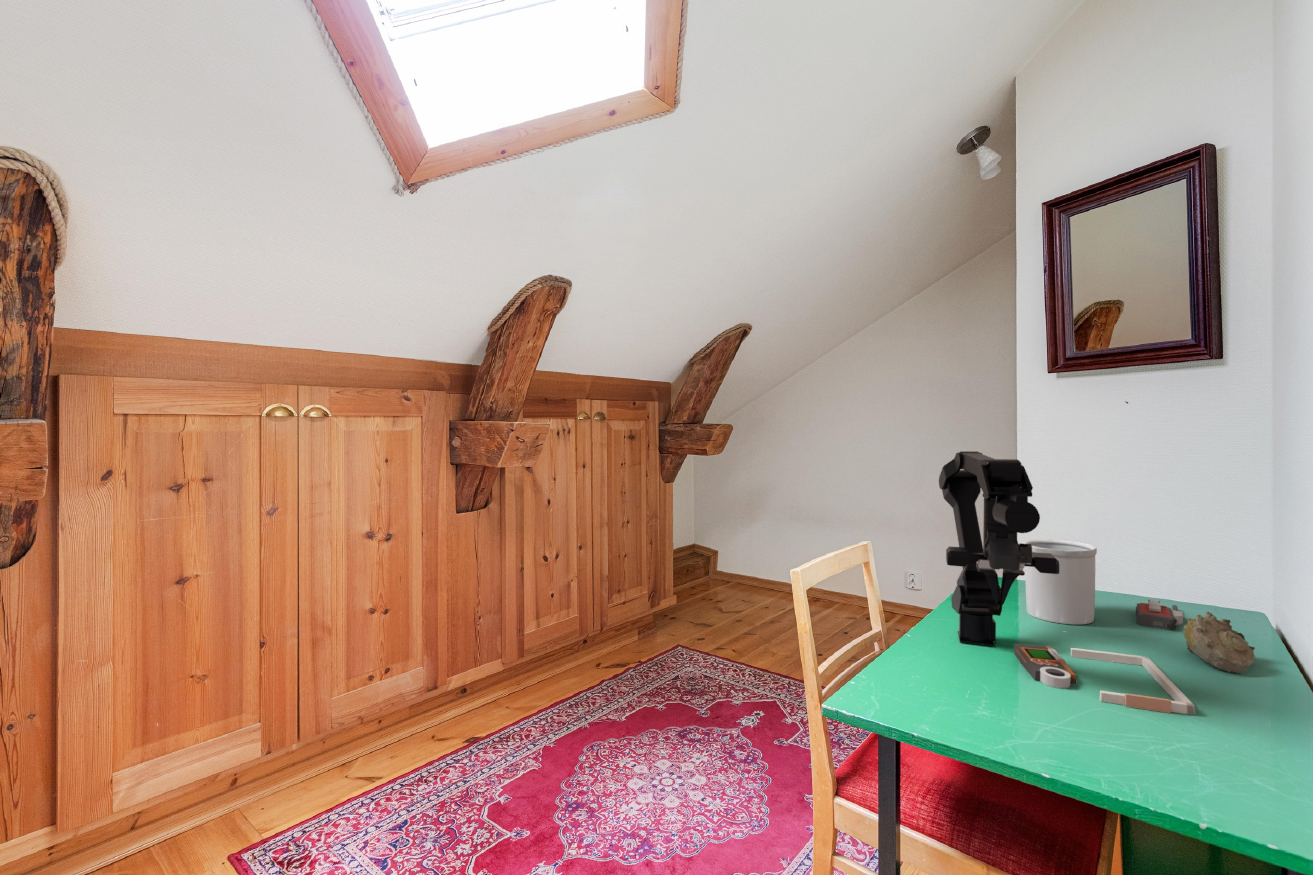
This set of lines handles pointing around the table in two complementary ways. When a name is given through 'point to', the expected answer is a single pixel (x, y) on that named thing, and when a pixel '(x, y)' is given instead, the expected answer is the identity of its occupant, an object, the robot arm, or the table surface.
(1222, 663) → the seashell
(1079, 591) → the utensil holder
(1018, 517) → the robot arm
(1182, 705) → the docking bay
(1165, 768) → the table surface
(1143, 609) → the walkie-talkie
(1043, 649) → the electronic device
